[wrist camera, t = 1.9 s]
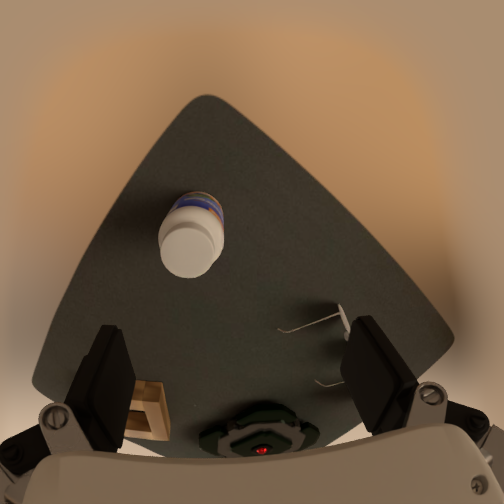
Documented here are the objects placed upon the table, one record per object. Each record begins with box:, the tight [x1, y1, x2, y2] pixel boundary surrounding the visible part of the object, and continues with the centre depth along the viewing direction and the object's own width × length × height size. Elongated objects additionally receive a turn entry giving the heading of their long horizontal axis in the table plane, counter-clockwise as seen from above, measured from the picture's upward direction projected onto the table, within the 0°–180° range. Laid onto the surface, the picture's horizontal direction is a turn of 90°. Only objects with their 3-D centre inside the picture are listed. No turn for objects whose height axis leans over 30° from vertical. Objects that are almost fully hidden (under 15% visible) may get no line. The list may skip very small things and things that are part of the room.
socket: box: [124, 380, 170, 441], centre depth 38 cm, size 11×11×4 cm
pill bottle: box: [158, 192, 224, 278], centre depth 25 cm, size 5×5×10 cm
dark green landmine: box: [199, 404, 320, 458], centre depth 44 cm, size 18×18×5 cm
